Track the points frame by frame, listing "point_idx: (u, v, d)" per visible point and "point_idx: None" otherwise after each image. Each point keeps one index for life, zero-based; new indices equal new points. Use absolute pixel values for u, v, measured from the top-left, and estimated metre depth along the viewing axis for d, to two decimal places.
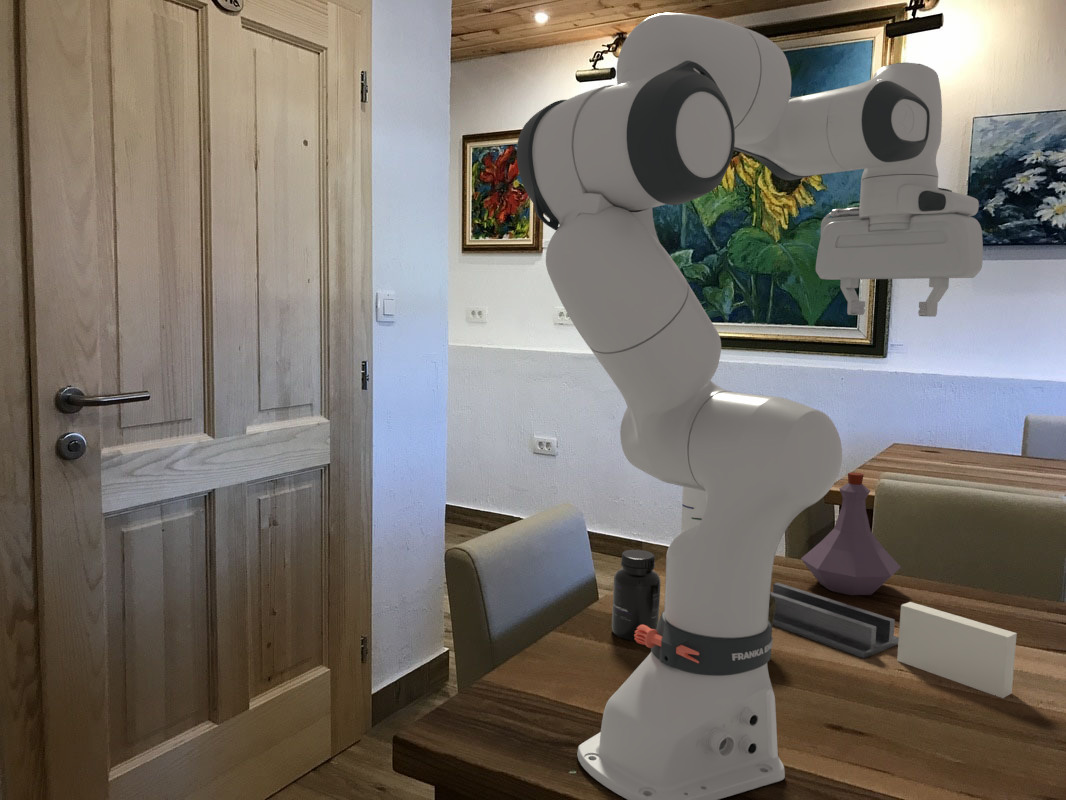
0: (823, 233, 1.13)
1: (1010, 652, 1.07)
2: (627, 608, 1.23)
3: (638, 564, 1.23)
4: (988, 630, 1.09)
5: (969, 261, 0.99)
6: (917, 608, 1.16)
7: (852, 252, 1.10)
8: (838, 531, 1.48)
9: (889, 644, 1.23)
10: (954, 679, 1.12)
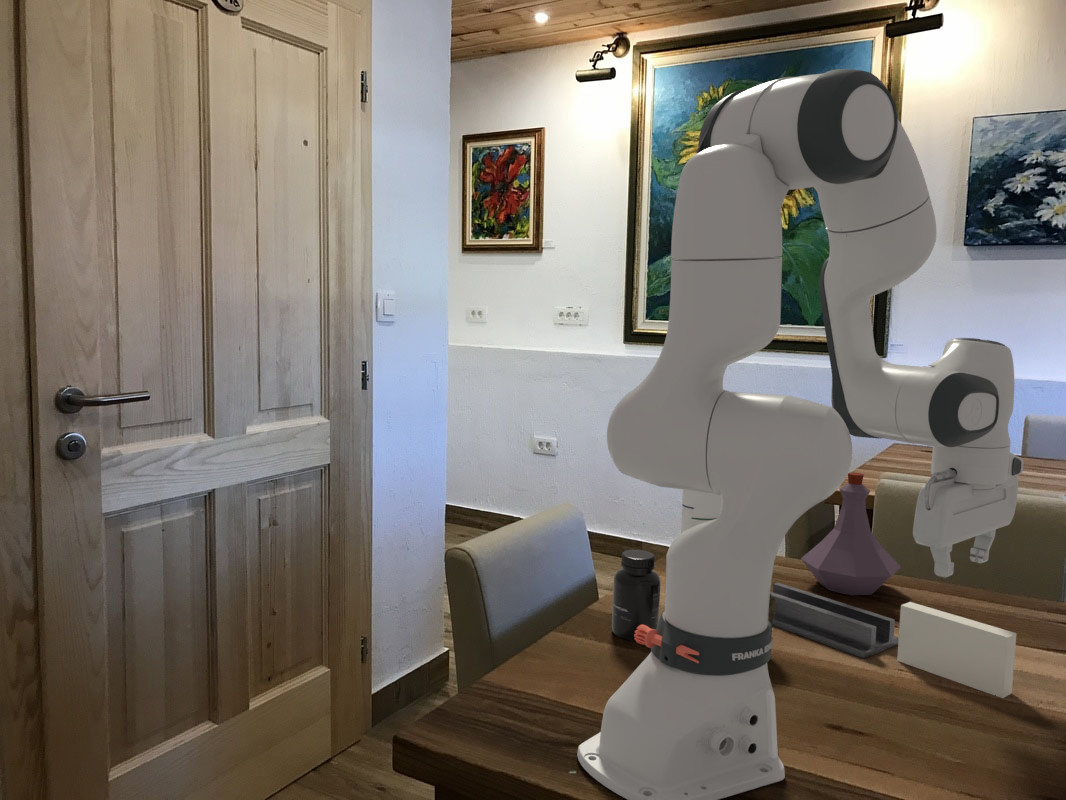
0: (945, 502, 1.04)
1: (1010, 652, 1.07)
2: (627, 608, 1.23)
3: (638, 564, 1.23)
4: (988, 630, 1.09)
5: None
6: (917, 608, 1.16)
7: (962, 517, 1.07)
8: (838, 531, 1.48)
9: (889, 644, 1.23)
10: (954, 679, 1.12)
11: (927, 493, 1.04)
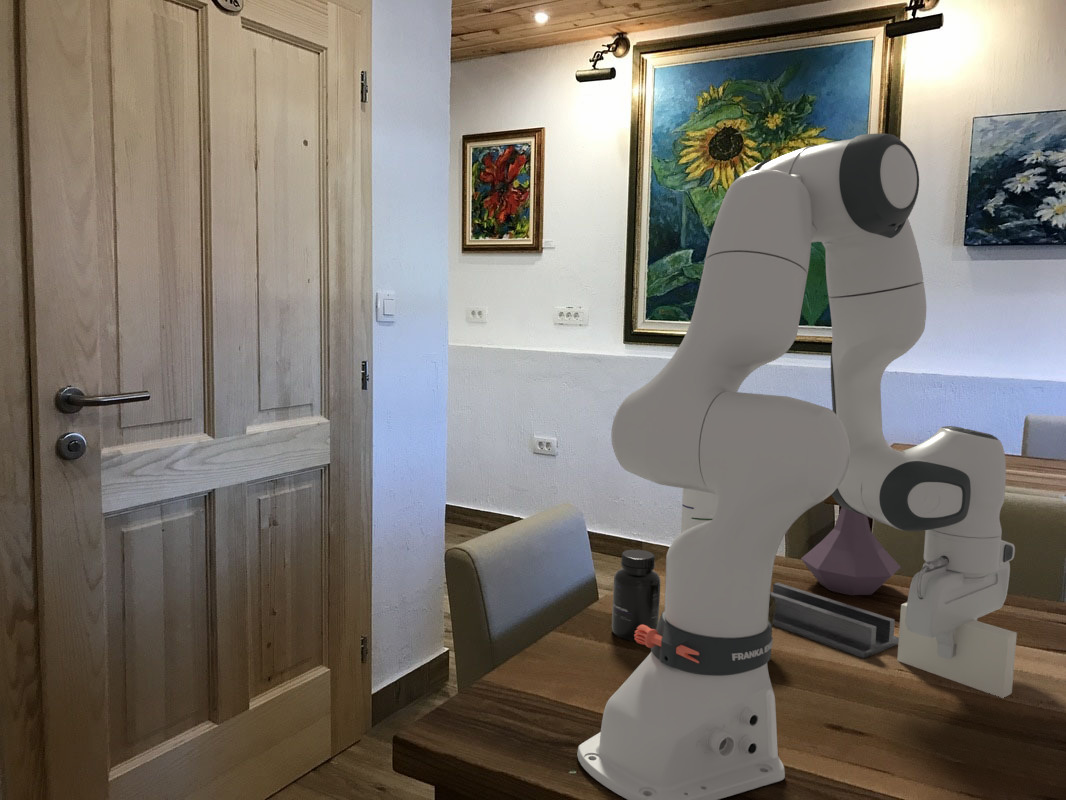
0: (937, 592, 1.05)
1: (1010, 651, 1.07)
2: (627, 608, 1.23)
3: (638, 564, 1.23)
4: (988, 630, 1.09)
5: (1005, 595, 1.17)
6: None
7: (954, 606, 1.08)
8: (838, 531, 1.48)
9: (889, 644, 1.23)
10: (954, 678, 1.12)
11: (919, 583, 1.06)
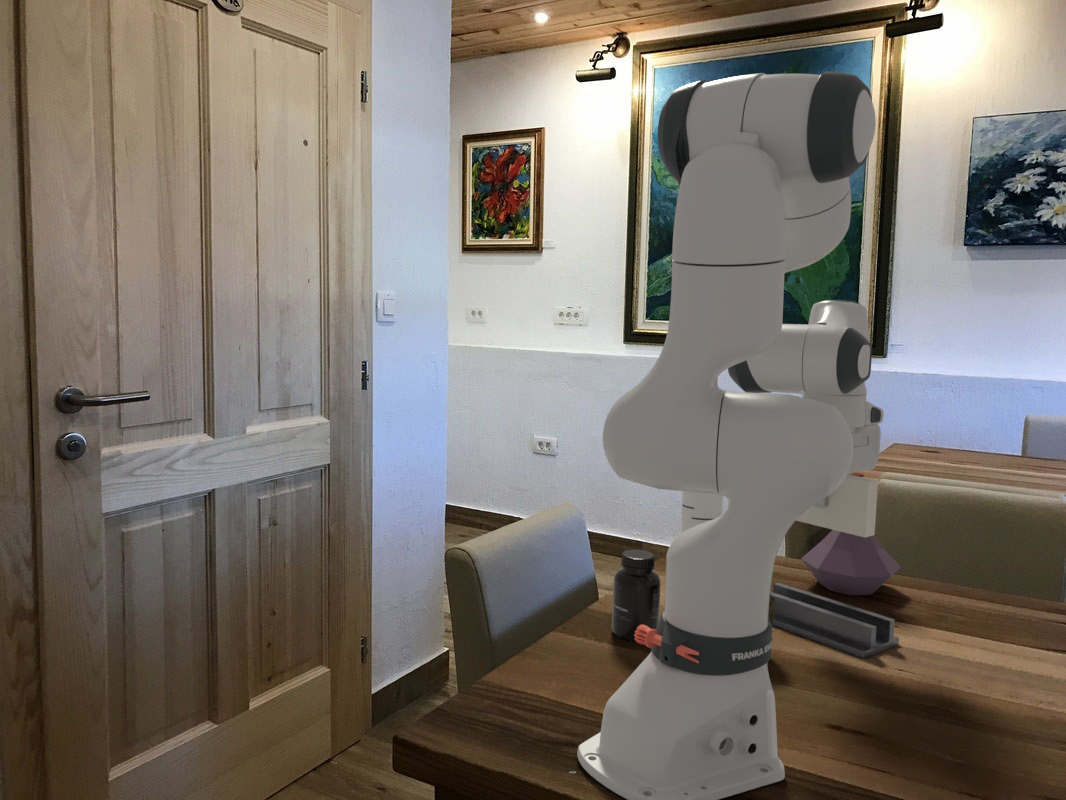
0: None
1: (871, 496, 1.21)
2: (628, 608, 1.23)
3: (638, 564, 1.23)
4: (853, 478, 1.22)
5: (877, 457, 1.31)
6: None
7: None
8: (838, 531, 1.48)
9: (889, 644, 1.23)
10: (827, 526, 1.26)
11: None
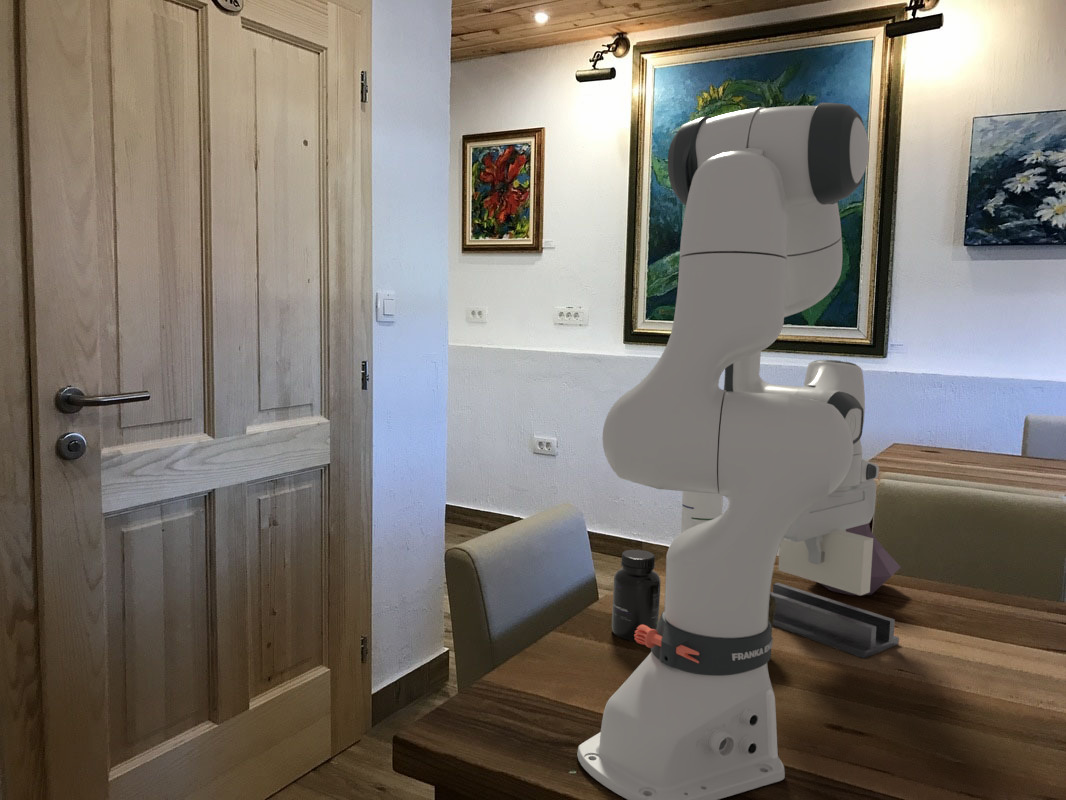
0: None
1: (866, 554, 1.22)
2: (628, 608, 1.23)
3: (638, 564, 1.23)
4: (849, 536, 1.24)
5: (873, 511, 1.32)
6: None
7: (818, 515, 1.23)
8: None
9: (889, 644, 1.23)
10: (823, 582, 1.27)
11: None
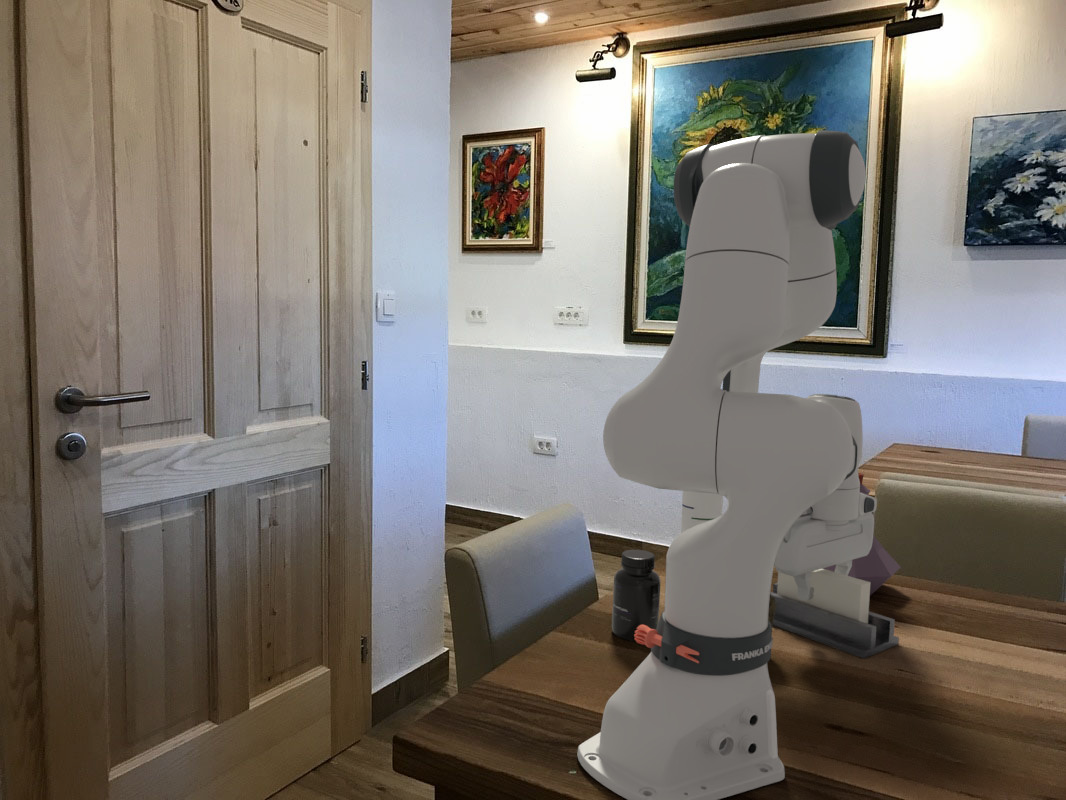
0: (799, 536, 1.21)
1: (864, 598, 1.23)
2: (627, 608, 1.23)
3: (638, 564, 1.23)
4: (846, 580, 1.24)
5: (871, 544, 1.33)
6: None
7: (816, 549, 1.24)
8: None
9: (889, 644, 1.23)
10: None
11: None
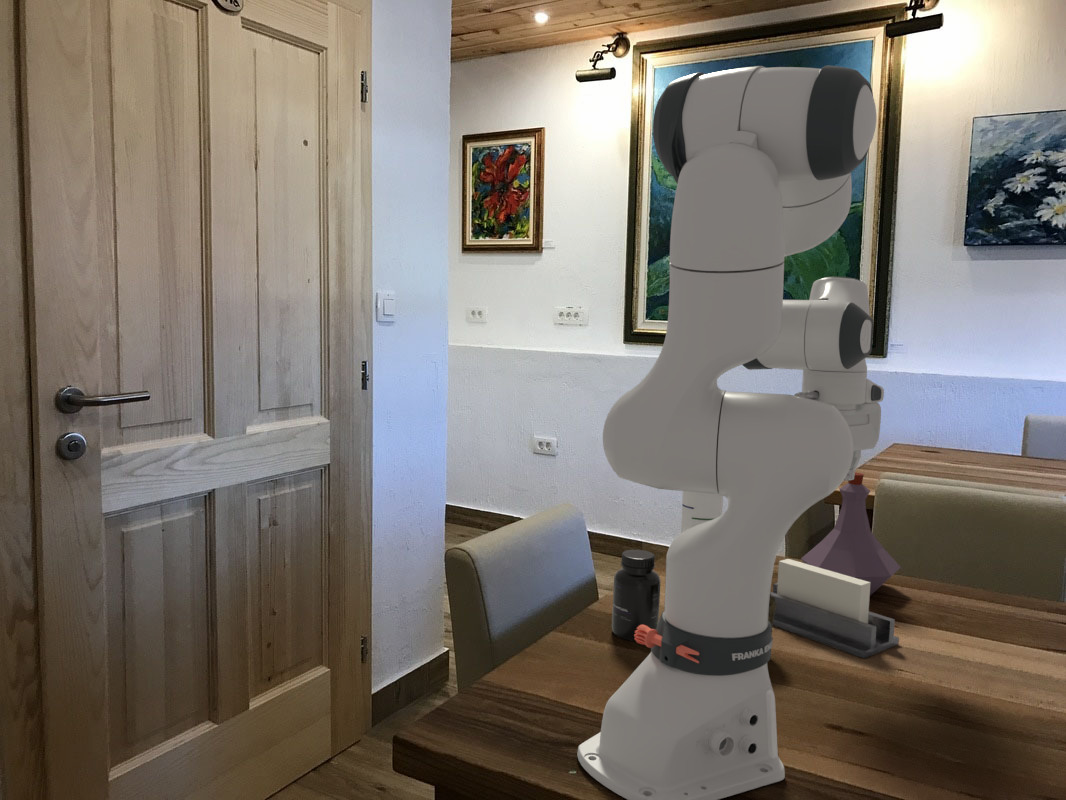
0: None
1: (864, 598, 1.23)
2: (627, 608, 1.23)
3: (638, 564, 1.23)
4: (846, 580, 1.24)
5: (878, 437, 1.31)
6: (792, 563, 1.32)
7: None
8: (838, 531, 1.48)
9: (889, 644, 1.23)
10: None
11: None
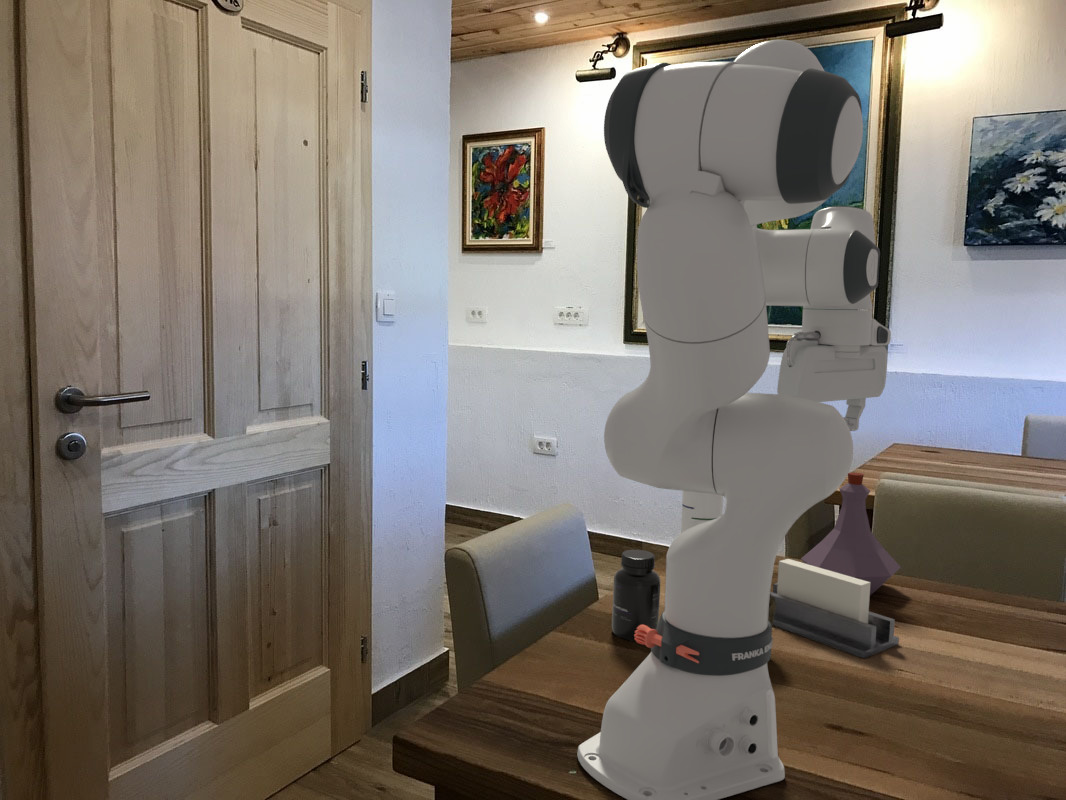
0: (805, 358, 1.09)
1: (864, 598, 1.23)
2: (627, 608, 1.23)
3: (638, 564, 1.23)
4: (846, 580, 1.24)
5: None
6: (792, 563, 1.32)
7: (825, 377, 1.12)
8: (838, 531, 1.48)
9: (889, 644, 1.23)
10: None
11: (788, 350, 1.09)
